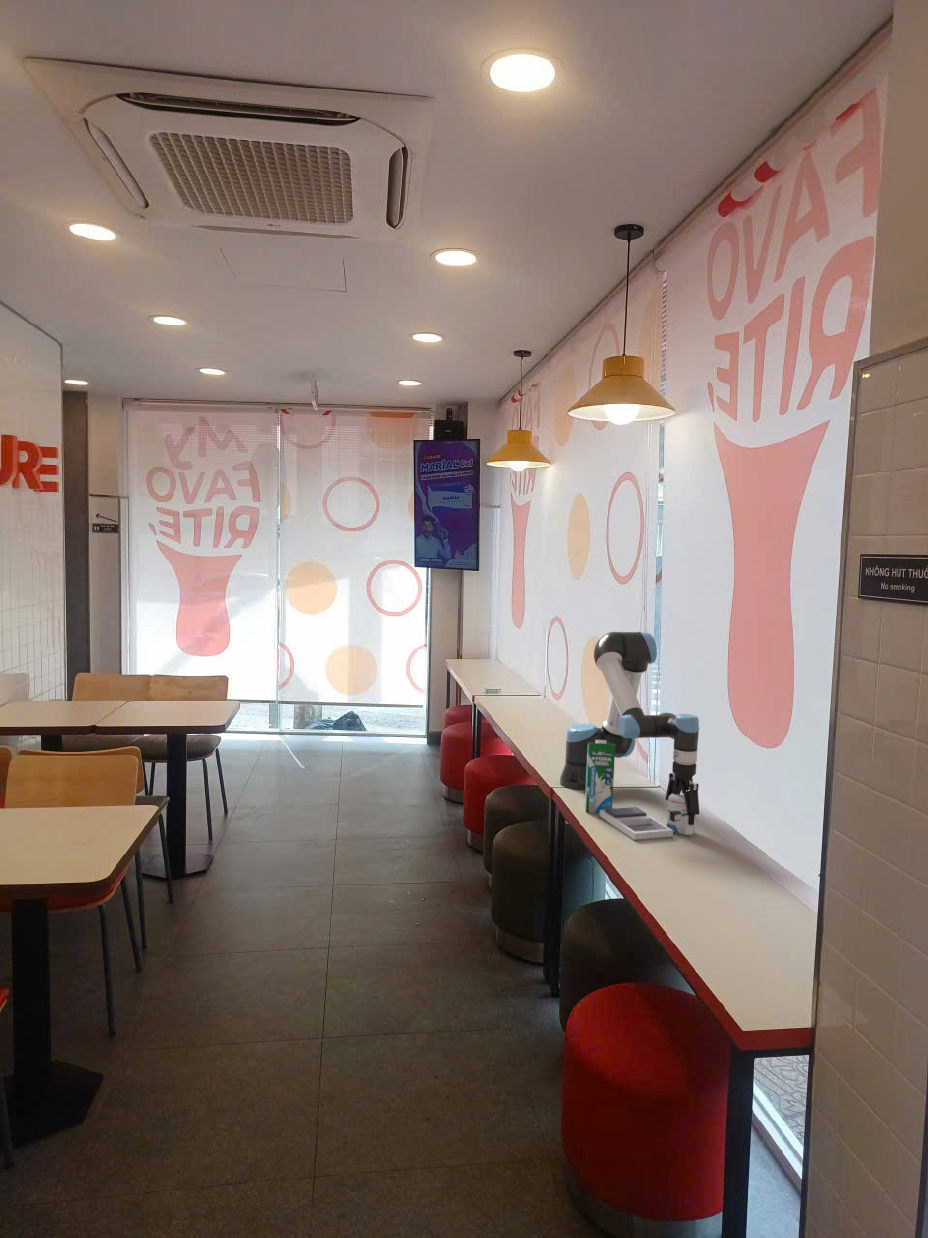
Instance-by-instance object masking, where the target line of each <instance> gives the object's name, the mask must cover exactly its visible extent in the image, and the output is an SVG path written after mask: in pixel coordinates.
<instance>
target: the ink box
mask: <svg viewBox="0 0 928 1238" xmlns="http://www.w3.org/2000/svg"><path fill="white" fill-rule="evenodd" d="M690 811H691V810H690ZM666 812H667V815H666V826H667V827H669V828H670V829H672V830H673V834H674V833H675V834H680V835H686V836H692V835H693V834H694V833H696V819H697V818H696V816H697V815H695V818H694V827H693V834H685V818H686V814H687V808H686V803H685V798H684V794H681V793H680V794H671V795H670V796H669V797H668V800H667V811H666Z"/></svg>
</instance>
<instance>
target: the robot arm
mask: <svg viewBox="0 0 928 1238" xmlns="http://www.w3.org/2000/svg"><path fill="white" fill-rule="evenodd" d="M657 649H658V647H657V643H656V641H655V638H654V636H653V635H652V634H651V633H649V632H641V631H638V632H635V631H630V632H629V631H611V632H607V633H604V634H603V635H602V636H601V637H600V638H599V639H598V641H597V642H596V644H595V646H594V650H593V659H594V663H595V666H596V668H597V669H598V671H600V672H601V673H602V675H603V678H604V681H605V682H606V684H607V688H608V689H609V691H610V694H611V696H612V699H611V704H610V707H609V712H608V717H607V718H606V719H604V720H603V722H602V725H601V727H597V725H596V724H592V723H578V724H573V725H571V726H570V727H568V729H567V730H566V737H565V763H564V766H563V769H562V771H561V774H560V778H559V783H560V785H561V786H563V787H565V788H569V789H574V790H585V788H586V767H587V746H588V743H595V740H606V741H607V742H606V744H615V758H617V759H620V758H627V757H630V755H631V754H632V753H633V752H634V751H635V747H636V739H644V738H645V739H648V738H649V739H650V738H653V739H654V738H655V739H656V738H670V739H673V753H672V754H673V755H672V760H673V761H672V768H671V769H672V773H669V774H668V784H667V787H666V788H667V789H666V793H665V801H667V802H668V797H669V796H670V795H671V794H680V795H684V798H685V803H686V808H687V814H686V818H685V834H694V833H693V827H694V818H695V815H696V816H697V815H700V801H699V787H700V786H699V783H695V782H694V781H693V780H694V779H693V777H694V776H695V775H697V764H696V763H697V761H698V747H699V746H698V744H699V734H700V733H699V731H700V726H699V725H700V720H699V717H698V716H697V715H694V714H691V713H679V714H677V715H676V714H674V713H671V712H662V713H660V714H654V715H653V714H645V713H644V711H643V709H642V707H641V704H640V702H639V700H638V697H637V695H638V692H639V688H640V682H641V678H642V674H644V673H646V672H647V670H648V666H649V664H650V665H651V664H654V663H655V662H656V660H657V657H658V656H657V655H658V650H657ZM690 810H691V811H690Z"/></svg>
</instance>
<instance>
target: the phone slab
mask: <svg viewBox="0 0 928 1238" xmlns="http://www.w3.org/2000/svg"><path fill="white" fill-rule="evenodd" d="M605 812H607V813H608V814H609V815H611V816H612V817H614V818H623V817H636V816H646V815H648V813H647V812H645V811H644V810H643V809H641V808H639V807H637V806H633V807H621V808H620V807H619V808H618V807H617V808H612V809H605Z"/></svg>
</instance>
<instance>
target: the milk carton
mask: <svg viewBox="0 0 928 1238" xmlns="http://www.w3.org/2000/svg"><path fill="white" fill-rule="evenodd" d="M606 742H607V741H606V740H595V743H588V746H587V767H586V788H585V789H584V791H585V793H584V809H585V813H591V814H592V813H594V814H600V810H605V809H613V795H614V779H615V778H614V777H615V776H614V775H615V774H614V773H615V761H616V760H615V758H616V757H615V744H606Z"/></svg>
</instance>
